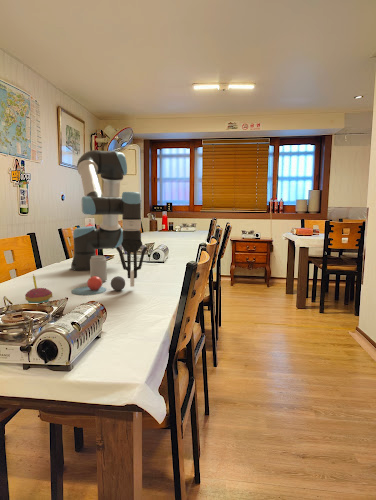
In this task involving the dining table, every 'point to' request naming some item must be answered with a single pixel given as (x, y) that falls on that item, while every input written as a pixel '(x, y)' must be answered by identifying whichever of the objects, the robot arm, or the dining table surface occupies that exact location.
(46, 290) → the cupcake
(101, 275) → the can
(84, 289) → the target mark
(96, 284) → the object ball
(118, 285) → the dark grey ball
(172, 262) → the dining table surface
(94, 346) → the dining table surface
